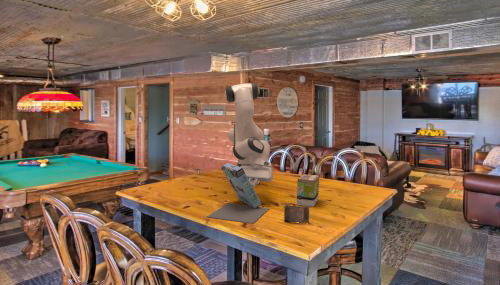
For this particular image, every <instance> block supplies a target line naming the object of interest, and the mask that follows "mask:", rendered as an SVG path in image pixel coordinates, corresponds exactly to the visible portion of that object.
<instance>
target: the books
mask: <svg viewBox="0 0 500 285" xmlns="http://www.w3.org/2000/svg"><path fill="white" fill-rule="evenodd" d="M285 220H289V221H288V223H289V222H299V223H298V224H301V223H308V224H307V225H309V224H310V206H302V205H291V203H290V202H289V203H286V202H284V208H283V222H284V223H286V221H285Z"/></svg>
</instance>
